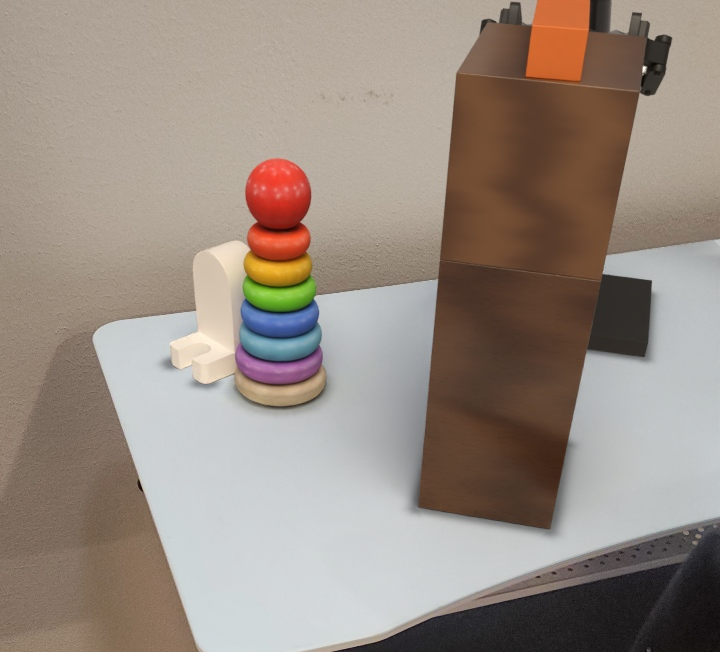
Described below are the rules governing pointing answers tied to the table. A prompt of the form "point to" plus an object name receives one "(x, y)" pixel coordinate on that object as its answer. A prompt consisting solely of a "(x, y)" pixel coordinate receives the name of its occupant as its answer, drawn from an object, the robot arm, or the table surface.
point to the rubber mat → (622, 316)
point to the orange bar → (558, 39)
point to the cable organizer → (214, 313)
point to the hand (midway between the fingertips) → (573, 22)
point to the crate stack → (521, 269)
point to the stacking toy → (279, 292)
